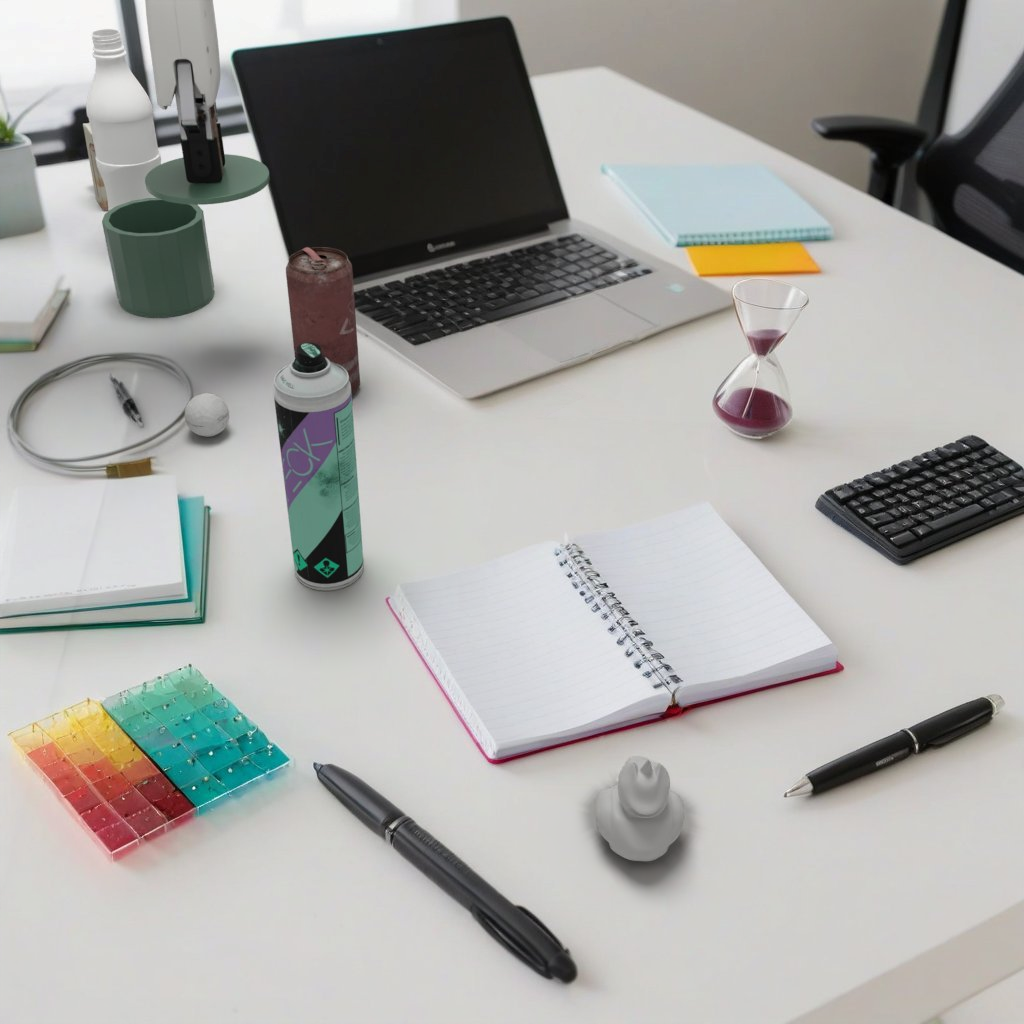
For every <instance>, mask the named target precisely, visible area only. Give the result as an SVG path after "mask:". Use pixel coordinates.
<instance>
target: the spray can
mask: <svg viewBox="0 0 1024 1024" xmlns="http://www.w3.org/2000/svg"><path fill="white" fill-rule="evenodd" d="M273 385H274V386H273V390H272V392H273V398H274V407H275V414H276V415H275V416H276V426H277V433H278V440H279V441H278V443H279V448H280V449H279V450H280V457H281V459H280V460H281V466H282V475H283V483H284V490H285V491H284V492H285V498H286V499H285V500H286V508H287V516H288V518H287V519H288V526H289V533H290V541H291V550H292V559H293V567H294V573H295V576H296V579H297V580H298V581H299V583H301V584H302V585H303V586H305V587H307V588H309V589H312V590H316V591H326V592H327V591H337V590H340V589H344V588H346V587H349V586H350V585H352V584H354V583H355V582H356V581H358V579H359V578H360V577H361V576H362V574H363V572H364V551H363V548H364V547H363V537H362V536H363V535H362V521H361V520H362V519H361V508H360V493H359V479H358V466H357V451H356V439H355V438H356V436H355V426H354V425H355V423H354V410H353V396H352V394H351V384H350V381H349V375H348V372H347V371H346V369H344V368H343V367H342V366H340V365H339V364H336V363H334V362H330V361H329V360H328V359H327V358H326V357H324V356H323V355H322V352H321V347H320V346H319V345H318V344H315V343H303V344H300V345H299V346H298V347H297V357H296V358H295V357H294V358H293V359H292V360H291V361H290V363H289V364H287V365H285V366H283V367H282V368H280V369H279V370H278V371H277V372H276V373H275V375H274V377H273Z"/></svg>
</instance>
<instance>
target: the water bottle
mask: <svg viewBox="0 0 1024 1024" xmlns="http://www.w3.org/2000/svg"><path fill="white" fill-rule="evenodd" d="M91 40H92V44H93V47H92V51H93V52H92V57H93V58H94V59H95V70H94V75H93V78H92V82H91V84H90V87H89V90H88V94H87V97H86V105H85V107H86V108H85V111H86V117H87V118H88V121H89V122H88V123H90V127H91V132H92V137H93V143H94V148H95V153H96V157H95V159H96V164H97V168H98V170H99V172H100V174H101V177H102V179H103V182H104V185H105V189H106V193H107V199H108V210H107V212H108V211H110V210H111V209H112V208H114V207H116V206H118V205H121V204H124V203H127V202H130V201H134V200H139V199H145V198H156V197H154V196H153V195H151V194H150V193H149V192H148V190H147V189H146V184H145V177H146V175H147V174H148V173H149V172H150V171H151V170H152V169H153V168H155V167H157V166H159V165H161V164H162V156H161V152H160V150H159V145H158V139H157V133H156V128H155V121H154V115H153V112H154V109H153V105H152V102H151V99H150V97H149V95H148V94H147V92H146V90H145V88H144V87H143V86H142V84H141V83H140V81H139V80H138V79H137V78H136V76H135V75H134V74H133V72H132V70H131V69H130V67H129V64H128V62H127V59H126V56H127V54H128V53H127V51H126V50H125V45H123V41H122V40H123V39H122V34H121V31H120V30H118V29H113V28H103V29H102V28H101V29H96V30H93V31H92V32H91Z"/></svg>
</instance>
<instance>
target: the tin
mask: <svg viewBox="0 0 1024 1024" xmlns="http://www.w3.org/2000/svg"><path fill="white" fill-rule="evenodd" d="M101 225H102V230H103V235H104V239H105V244H106V249H107V254H108V259H109V263H110V268H111V273H112V277H113V278H112V279H113V283H114V289H115V294H116V298H117V300H118V303H119V306H120V307H121V308H122V309H123V310H124V311H125V312H127V313H129V314H132V315H135V316H138V317H144V318H158V319H159V318H161V319H162V318H171V317H178V316H183V315H187V314H191V313H193V312H196V311H198V310H200V309H202V308H204V307H205V306H207V305H208V304H210V302H211V301H212V300H213V298H214V297H215V296H214V295H215V283H214V275H213V268H212V262H211V261H212V260H211V256H210V248H209V240H208V234H207V227H206V220H205V213H204V209H202V208H201V207H200V206H199V205H192V204H179V203H173V202H168V201H164V200H161V199H159V198H145V199H139V200H134V201H130V202H127V203H124V204H121V205H118V206H116V207H114V208H112V209H111V210H110V211H108V210H107V212H105V213H104V215H103V217H102V219H101Z"/></svg>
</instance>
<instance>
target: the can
mask: <svg viewBox="0 0 1024 1024" xmlns="http://www.w3.org/2000/svg"><path fill="white" fill-rule="evenodd" d="M285 277H286V288H287V296H288V304H289V314H290V325H291V333H292V343H293V353H294V359H295V358H296V357H297V347H298V346H299V345H300V344H303V343H315V344H318V345H319V346H320V347H321V352H322V355H323V356H324V357H326V358H327V359H328V360H329V361H330V362H334V363H336V364H339V365H340V366H342V367H343V368H344V369H346V371H347V372H348V375H349V381H350V384H351V394H352V397H354V396H355V395H356V394H357V392H358V390H359V388H360V387H361V374H360V362H359V361H360V360H359V348H358V347H359V346H358V333H357V332H358V331H357V320H356V319H357V318H356V301H355V289H354V273H353V264H352V262H351V261H350V259H349V258H348V255H347V254H346V252H345V251H342V250H340V249H337V248H334V247H324V246H319V247H318V246H316V247H315V246H314V247H309V246H306V247H304V248H302V249H301V250H298V251H296V252H294V253H293V254H290V256H289V258H288V262H287V264H286V266H285Z"/></svg>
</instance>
